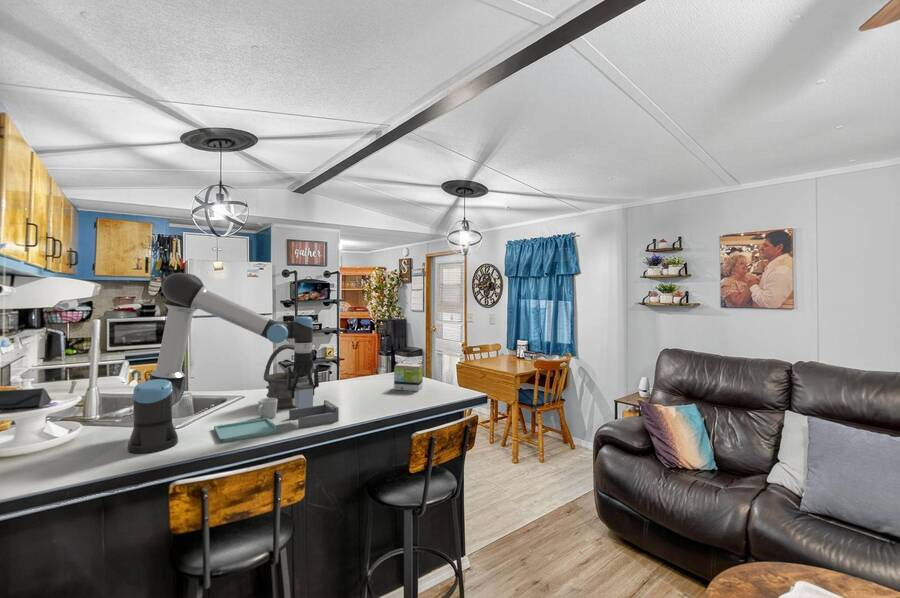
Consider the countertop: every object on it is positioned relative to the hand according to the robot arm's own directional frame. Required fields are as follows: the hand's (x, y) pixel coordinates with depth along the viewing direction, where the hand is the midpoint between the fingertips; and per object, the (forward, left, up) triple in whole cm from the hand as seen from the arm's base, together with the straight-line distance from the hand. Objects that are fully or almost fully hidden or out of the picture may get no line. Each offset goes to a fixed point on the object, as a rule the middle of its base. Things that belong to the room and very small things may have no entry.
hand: (302, 404), depth 186 cm
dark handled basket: (+3, +35, -8) cm, 36 cm away
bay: (+5, 0, -8) cm, 9 cm away
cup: (-12, +14, -8) cm, 20 cm away
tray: (-23, 0, -8) cm, 24 cm away
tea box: (+70, +29, -8) cm, 76 cm away
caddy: (0, 0, 0) cm, 0 cm away
